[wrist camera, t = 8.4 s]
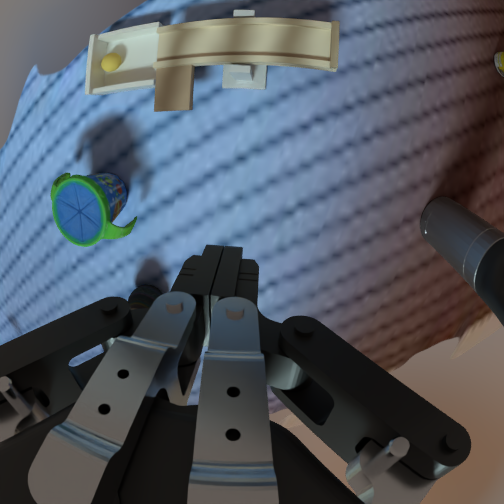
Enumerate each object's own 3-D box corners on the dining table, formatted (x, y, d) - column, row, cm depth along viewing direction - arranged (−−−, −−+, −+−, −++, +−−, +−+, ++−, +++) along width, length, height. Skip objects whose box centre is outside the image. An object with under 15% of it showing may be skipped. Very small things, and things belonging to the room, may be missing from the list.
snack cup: (69, 191, 42) (34, 211, 33) (91, 143, 39) (54, 154, 29) (130, 241, 47) (103, 270, 37) (159, 195, 43) (132, 217, 34)
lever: (337, 28, 24) (339, 21, 21) (331, 118, 29) (333, 118, 27) (164, 31, 27) (153, 26, 24) (158, 111, 32) (147, 111, 30)
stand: (269, 23, 30) (270, 3, 23) (265, 89, 35) (265, 82, 28) (227, 22, 30) (219, 2, 23) (222, 88, 35) (212, 81, 28)
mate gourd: (134, 304, 53) (115, 336, 44) (135, 273, 50) (113, 304, 41) (167, 314, 54) (152, 349, 45) (171, 284, 50) (154, 318, 41)
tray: (168, 28, 30) (156, 19, 26) (163, 87, 35) (150, 84, 30) (106, 40, 30) (90, 35, 26) (101, 95, 35) (84, 94, 30)
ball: (111, 56, 31) (126, 51, 31) (110, 73, 33) (124, 70, 32) (97, 54, 29) (112, 49, 28) (96, 73, 30) (110, 68, 29)
